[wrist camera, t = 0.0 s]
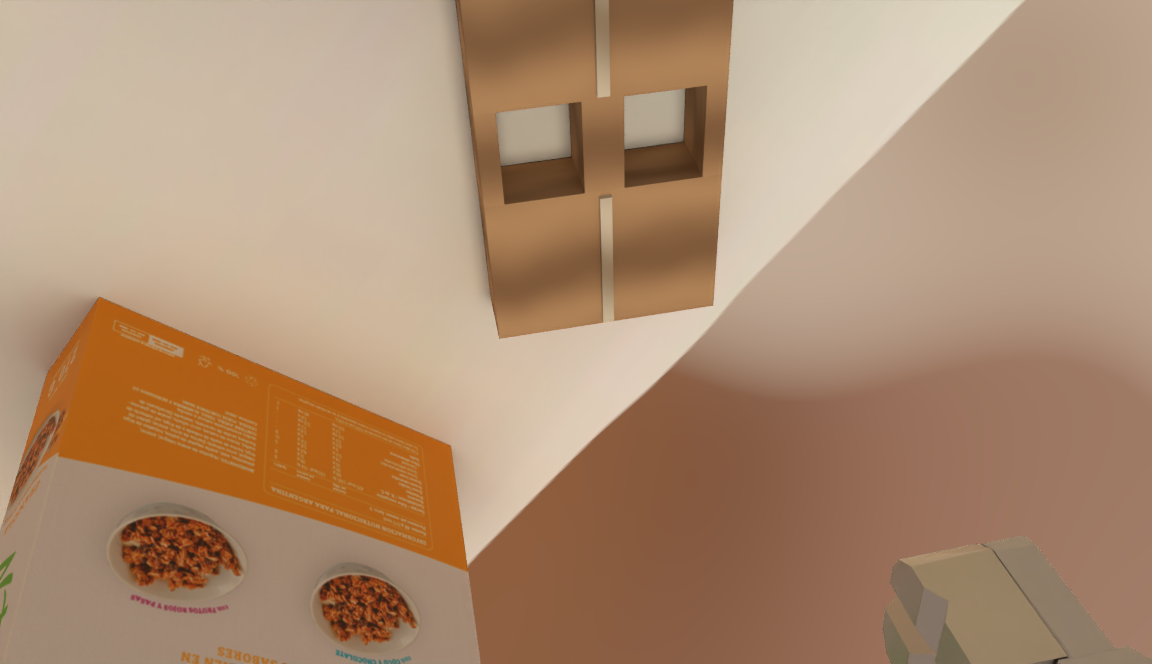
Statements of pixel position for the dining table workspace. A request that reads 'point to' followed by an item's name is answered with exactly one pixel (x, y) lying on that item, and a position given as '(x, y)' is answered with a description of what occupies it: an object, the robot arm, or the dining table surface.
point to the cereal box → (223, 517)
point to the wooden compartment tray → (597, 157)
